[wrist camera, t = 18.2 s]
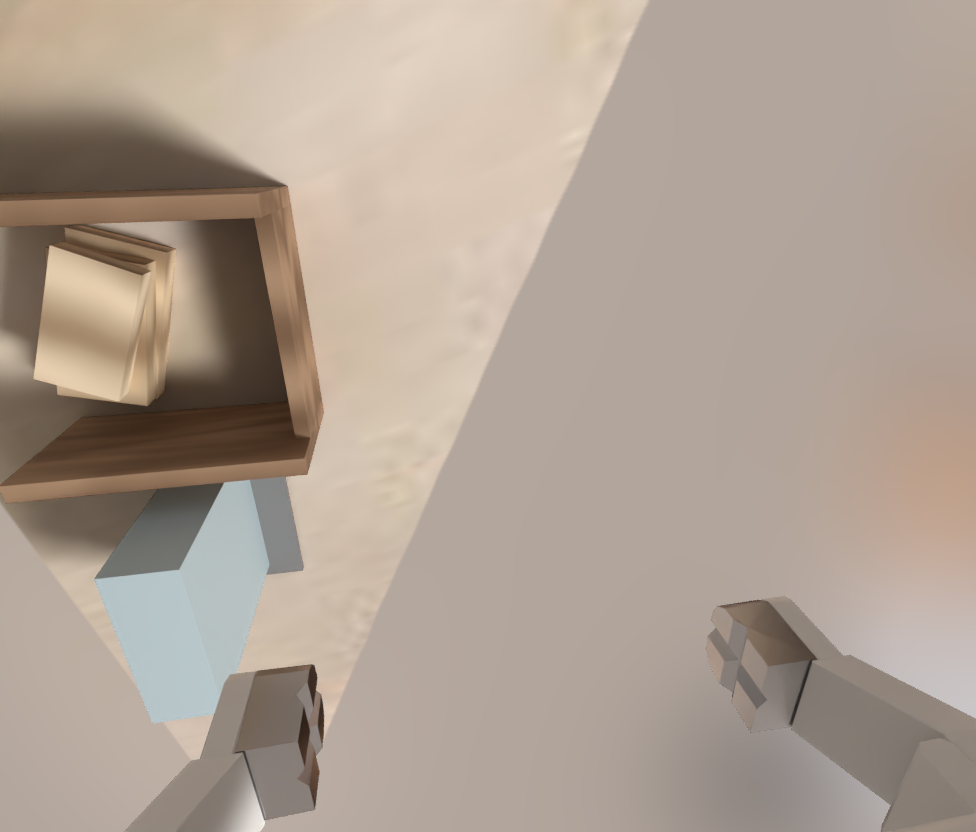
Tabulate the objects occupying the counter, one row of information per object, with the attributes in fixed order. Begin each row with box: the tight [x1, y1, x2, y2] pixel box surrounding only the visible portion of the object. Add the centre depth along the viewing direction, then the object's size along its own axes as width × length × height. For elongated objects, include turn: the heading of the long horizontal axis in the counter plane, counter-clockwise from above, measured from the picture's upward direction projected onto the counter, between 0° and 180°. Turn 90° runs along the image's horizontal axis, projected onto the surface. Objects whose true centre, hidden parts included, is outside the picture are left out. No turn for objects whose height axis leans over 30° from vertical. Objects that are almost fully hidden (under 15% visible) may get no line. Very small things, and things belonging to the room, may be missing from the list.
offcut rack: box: [0, 186, 324, 503], centre depth 36 cm, size 17×18×10 cm
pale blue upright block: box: [94, 480, 269, 723], centre depth 41 cm, size 12×4×15 cm, turn 1°
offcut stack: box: [33, 225, 176, 406], centre depth 38 cm, size 11×6×5 cm, turn 163°
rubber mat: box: [250, 477, 304, 575], centre depth 48 cm, size 14×10×1 cm
